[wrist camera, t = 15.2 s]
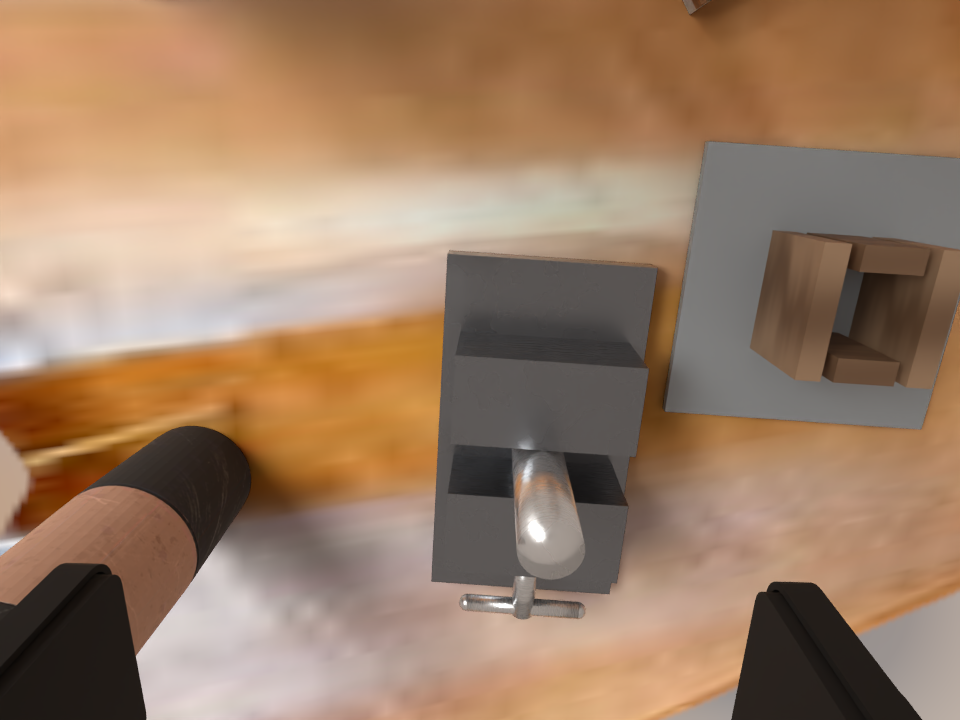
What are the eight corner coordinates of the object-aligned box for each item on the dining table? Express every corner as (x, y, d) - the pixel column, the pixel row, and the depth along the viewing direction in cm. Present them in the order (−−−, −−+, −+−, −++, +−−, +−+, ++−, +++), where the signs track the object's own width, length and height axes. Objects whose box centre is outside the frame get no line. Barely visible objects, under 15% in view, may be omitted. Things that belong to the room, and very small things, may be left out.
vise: (449, 250, 37) (424, 294, 24) (651, 264, 37) (733, 315, 24) (433, 567, 44) (407, 735, 31) (605, 580, 44) (651, 753, 31)
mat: (705, 141, 35) (708, 141, 35) (992, 161, 35) (1000, 161, 34) (662, 408, 40) (664, 411, 39) (915, 425, 40) (921, 429, 39)
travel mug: (266, 440, 41) (67, 676, 22) (244, 537, 43) (45, 827, 24) (151, 406, 41) (-155, 618, 22) (134, 506, 43) (-156, 778, 24)
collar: (772, 230, 36) (825, 242, 30) (895, 238, 36) (971, 251, 30) (749, 347, 38) (794, 379, 32) (865, 355, 38) (931, 389, 32)
